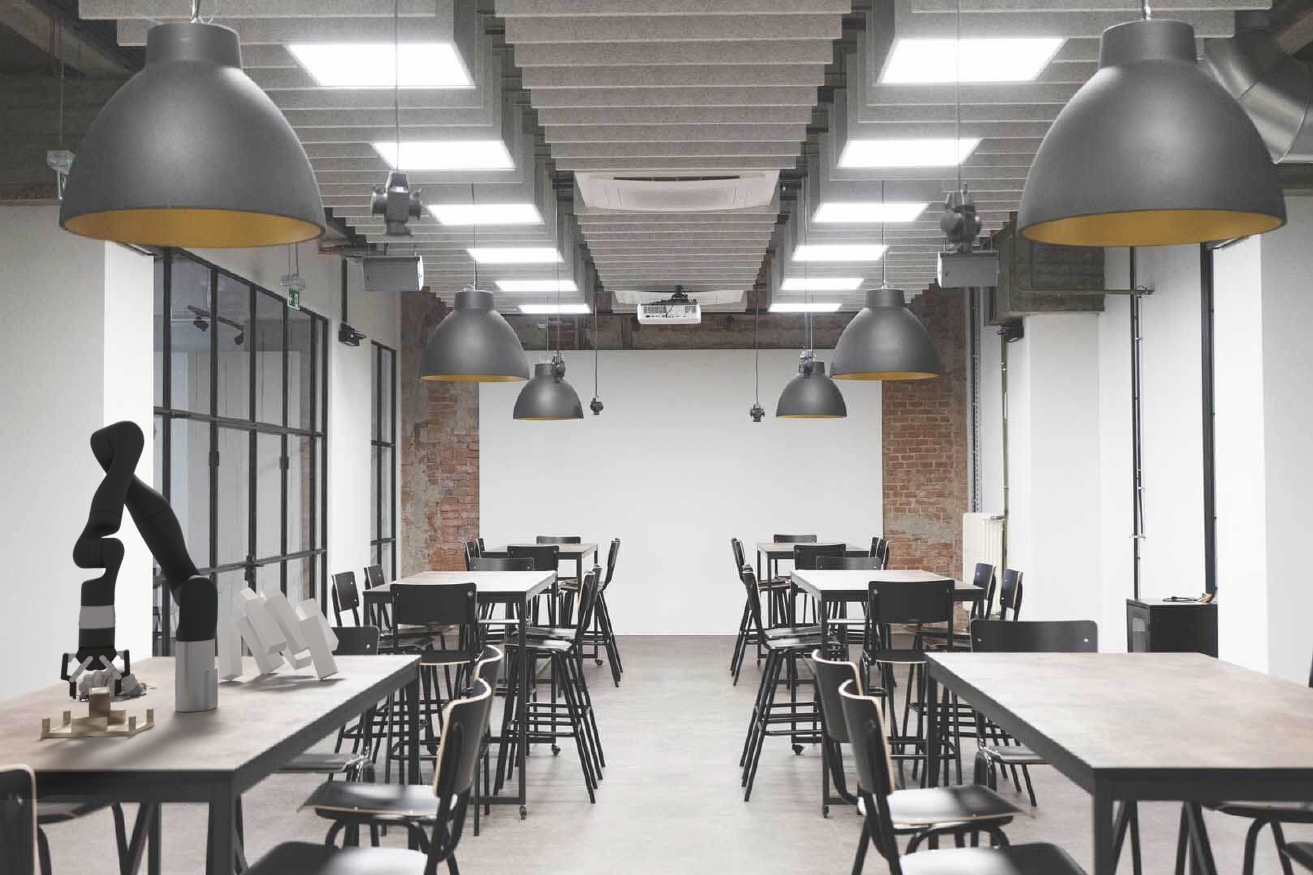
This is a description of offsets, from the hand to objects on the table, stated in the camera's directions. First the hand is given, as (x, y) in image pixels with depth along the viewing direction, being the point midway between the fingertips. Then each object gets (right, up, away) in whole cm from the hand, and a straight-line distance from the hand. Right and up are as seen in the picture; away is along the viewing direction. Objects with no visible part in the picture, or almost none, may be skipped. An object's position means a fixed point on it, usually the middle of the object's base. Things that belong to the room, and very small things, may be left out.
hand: (95, 697), depth 262 cm
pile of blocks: (+16, -12, +79) cm, 81 cm away
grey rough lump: (-21, -12, +53) cm, 59 cm away
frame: (+1, -4, 0) cm, 4 cm away
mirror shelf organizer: (+1, -8, -1) cm, 8 cm away
